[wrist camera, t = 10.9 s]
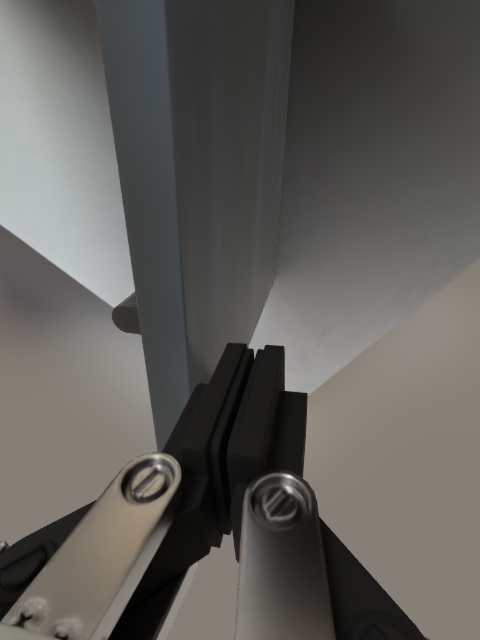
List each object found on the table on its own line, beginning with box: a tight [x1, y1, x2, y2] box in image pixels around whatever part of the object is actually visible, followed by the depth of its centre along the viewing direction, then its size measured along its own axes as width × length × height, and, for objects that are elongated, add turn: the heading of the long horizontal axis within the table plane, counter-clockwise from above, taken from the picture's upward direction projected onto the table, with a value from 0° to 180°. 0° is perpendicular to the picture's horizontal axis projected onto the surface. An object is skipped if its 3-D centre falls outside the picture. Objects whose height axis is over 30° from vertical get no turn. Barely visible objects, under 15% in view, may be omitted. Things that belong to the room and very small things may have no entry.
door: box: [95, 0, 295, 452], centre depth 19 cm, size 8×26×24 cm, turn 179°
